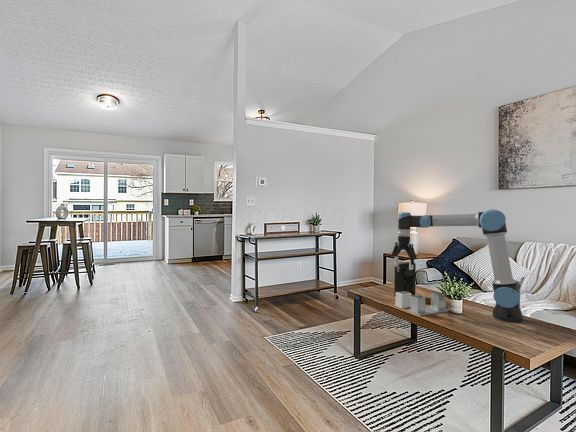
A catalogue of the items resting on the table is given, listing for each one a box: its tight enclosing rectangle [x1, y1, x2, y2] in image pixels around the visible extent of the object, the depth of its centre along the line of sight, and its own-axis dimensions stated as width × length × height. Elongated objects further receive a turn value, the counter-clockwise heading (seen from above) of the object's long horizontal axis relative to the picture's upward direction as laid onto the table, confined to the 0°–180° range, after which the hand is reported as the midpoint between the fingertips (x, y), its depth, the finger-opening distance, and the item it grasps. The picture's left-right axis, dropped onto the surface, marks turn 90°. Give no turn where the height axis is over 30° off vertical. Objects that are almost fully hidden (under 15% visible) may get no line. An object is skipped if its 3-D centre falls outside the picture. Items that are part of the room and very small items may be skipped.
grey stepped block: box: [406, 291, 449, 317], centre depth 202 cm, size 24×10×11 cm, turn 113°
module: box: [394, 291, 412, 309], centre depth 212 cm, size 8×6×9 cm
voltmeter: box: [393, 261, 417, 297], centre depth 236 cm, size 16×9×25 cm, turn 120°
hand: (403, 267), depth 212 cm, fingers open, 13 cm apart
